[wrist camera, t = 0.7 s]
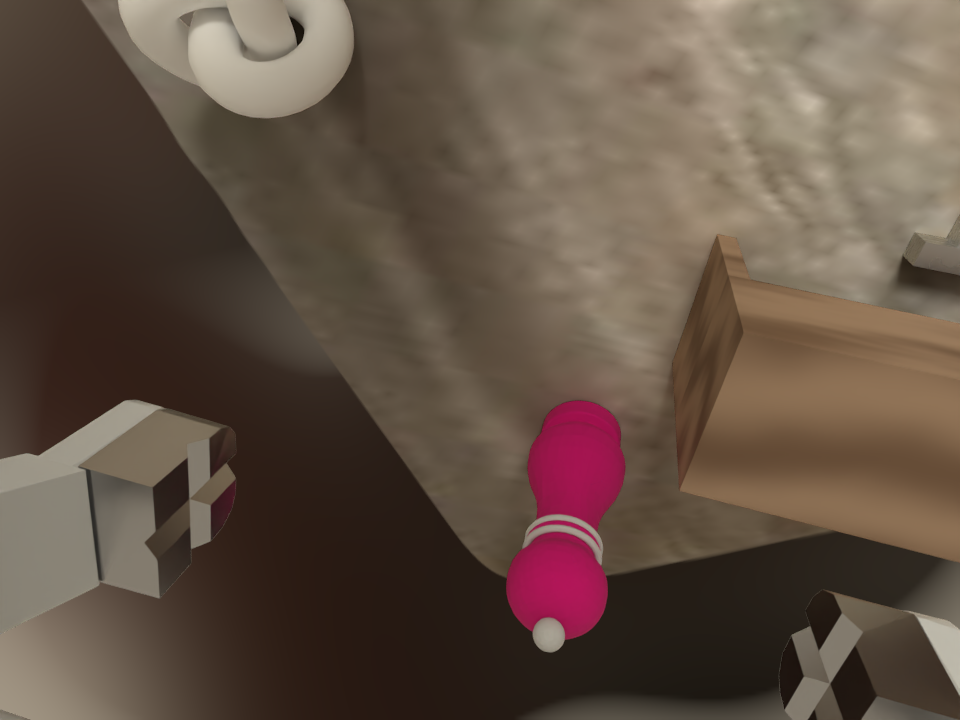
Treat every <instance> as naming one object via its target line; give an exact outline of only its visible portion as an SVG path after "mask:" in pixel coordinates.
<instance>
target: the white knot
mask: <svg viewBox="0 0 960 720" xmlns="http://www.w3.org/2000/svg"><path fill="white" fill-rule="evenodd" d="M118 4H119V11H120V16H121V18H122V20H123V22H124V25H125V27H126V29H127V31H128V33H129V35H130V37H131V39H132V41H133V42H134V43H135V44H136V45H137V47H138V48H139V49H140V50H141V52H143V53H144V54H145V55H146V56H147V57H148V58H150V59H151V60H152V61H153V62H154V63H156V64H158V65H159V66H161V67H162V68H164V69H165V70H167V71H169V72H170V73H172V74H174V75H175V76H177V77H179V78H182V79H184V80H186V81H188V82H190V83H192V84H195V85H198V86H200V87H201V88H202V89H203V91H205V92H206V93H207V94H208V95H209V96H210V97H211V98H212V99H214V100H215V101H216V102H217V103H218V104H220V105H221V106H223V107H224V108H226V109H228V110H230V111H232V112H235V113H237V114H240V115H244V116H249V117H254V118H276V117H284V116H288V115H291V114H295V113H298V112H301V111H303V110H305V109H307V108H309V107H311V106H313V105H315V104H317V103H318V102H319V101H320V100H322V99H323V98H324V97H325V96H327V95H328V94H329V93H330V92H331V91H332V89H333V88H334V87H335V86H336V85H337V84H338V82H339V81H340V80H341V78H342V77H343V76H344V74H345V72H346V70H347V68H348V66H349V64H350V62H351V58H352V54H353V50H354V31H353V25H352V20H351V16H350V12H349V10H348V8H347V6H346V4H345V2H344V0H118ZM194 10H195V11H194ZM191 11H194V14H193V17H192V20H191V24H190V27H188V26H187V25H186V24H185V23H184V22H183V21H182V20H181V19H180V18H179V17H180V16H182V15H184V14H186V13H189V12H191ZM289 16H290V17H292V18H293V19H295V20H296V21H298V22H299V23H300V24H301V25H302V26H303V28H304V37H303V40H302V42H301V43H300V44H299V45H298V46H297V42H296V36H295V32H294V29H293V26H292V24H291V21H290V18H289Z"/></svg>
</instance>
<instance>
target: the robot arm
mask: <svg viewBox="0 0 960 720" xmlns="http://www.w3.org/2000/svg"><path fill="white" fill-rule="evenodd" d="M235 454H236V436H235V433H234V432H233V430H231V428H230V427H228V426H224V425H221V424H218V423H214V422H211V421H208V420H205V419H201V418H198V417H195V416H191V415H188V414H184V413H181V412H178V411H174V410H171V409H165V408H163V407H160V406H156V405H153V404H149V403H146V402H142V401H139V400H128V401H124V402H122V403H120V404H119V405H117V406H116V407H114V408H113V409H111V410H110V411H108V412H106V413H105V414H104V415H102V416H100V417H99V418H97V419H96V420H94V421H92V422H91V423H89V424H88V425H86V426H85V427H83V428H81V429H80V430H78V431H77V432H75V433H74V434H72V435H70V436H69V437H68V438H66V439H65V440H63V441H61V442H60V443H58V444H56V445H55V446H53V447H52V448H50V449H49V450H47V451H45V452H44V453H42V454H41V455H39V456H36V455H32V454H28V453H27V454H22V455H18V456H13V457H9V458H5V459H0V634H2V633H4V632H5V631H8V630H10V629H12V628H14V627H16V626H18V625H20V624H22V623H24V622H26V621H28V620H30V619H32V618H34V617H36V616H38V615H40V614H42V613H44V612H46V611H48V610H50V609H52V608H54V607H57V606H59V605H61V604H63V603H64V602H66V601H69V600H71V599H73V598H75V597H77V596H79V595H81V594H83V593H85V592H87V591H88V590H91V589H93V588H95V587H97V586H99V582H102V583H105V584H109V585H113V586H117V587H120V588H124V589H127V590H131V591H134V592H138V593H142V594H145V595H149V596H153V597H156V598H161V596H162V595H163V594H164V593H165V592H166V591H167V590H168V588H169V587H170V586H171V585H172V584H173V583H174V582H175V581H176V580H177V579H178V577H179V576H180V575H181V574H182V573H183V572H184V571H185V570H186V569H187V567H188V566H189V565H190V564H191V549H192V548H195V547H197V546H200V545H202V544H205V543H207V542H210V541H211V540H212V539H213V538H214V537H215V536H216V534H217V533H218V532H219V531H220V530H221V528H222V527H223V525H224V523H225V521H226V519H227V517H228V515H229V513H230V511H231V509H232V506H233V501H234V497H235V493H236V478H235V476H234V475H233V473H232V471H231V470H230V468H229V467H228V465H227V462H228V461H229V460H230V459H231V457H233V456H234V455H235ZM805 612H806V615H807V618H808V621H809V624H810V627H808V628H806V629H804V630H801V631H800V632H797V633H795V634H793V635H791V637H790V639H789V641H788V644H787V645H786V647H785V649H784V651H783V654H782V659H781V666H780V671H779V684H780V694H781V698H782V702H783V707H784V710H785V712H786V713H787V714H788V715H789V716H790V718H791V719H792V720H960V630H959V629H958V628H957V627H956V626H954V625H953V624H952V623H950V622H949V621H947V620H943V619H938V618H935V617H931V616H927V615H923V614H919V613H915V612H911V611H906V610H905V611H901V610H898V609H894V608H890V607H886V606H883V605H879V604H875V603H871V602H868V601H864V600H860V599H856V598H853V597H849V596H845V595H841V594H838V593H834V592H830V591H826V590H823V589H822V590H821V591H820V592H819V593H818V594H816V595H815V596H814V597H813V598H812V600H811V602H810V603H809V605H808V607H807V608H806V610H805ZM0 720H30V719H27V718H24V717H21V716H18V715H15V714H12V713H9V712H6V711H3V710H0Z"/></svg>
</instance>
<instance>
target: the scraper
mask: <svg viewBox="0 0 960 720" xmlns="http://www.w3.org/2000/svg"><path fill="white" fill-rule="evenodd" d="M903 256H904V257H905V258H906V259H907V260H908V261H909V262H910V263H911V264H912V265H913V266H916V267H921V268H926V269H931V270H936V271H941V272H946V273H951V274H956V275H960V215H959V217H958V218H957V220H956V222H955V224H954V226H953V227H952V229H951V231H950V233H949V235H948V236H947V238H942V237H937V236H932V235H927V234H921V233H916V232H915V233H914V235H913V237H912V239H911V241H910V243H909V245H908V246H907V248H906V250H905V252H904V254H903Z"/></svg>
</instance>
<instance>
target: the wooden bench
mask: <svg viewBox="0 0 960 720" xmlns="http://www.w3.org/2000/svg"><path fill="white" fill-rule="evenodd" d="M672 366H673V385H674V403H675V421H676V439H677V457H678V475H679V491H682V492H686V493H690V494H693V495H697V496H701V497H705V498H709V499H713V500H717V501H721V502H725V503H729V504H733V505H736V506H740V507H744V508H748V509H752V510H756V511H760V512H764V513H768V514H772V515H776V516H779V517H783V518H787V519H791V520H795V521H799V522H803V523H807V524H811V525H815V526H818V527H822V528H826V529H830V530H834V531H838V532H842V533H846V534H850V535H854V536H858V537H862V538H865V539H870V540H873V541H877V542H881V543H885V544H889V545H893V546H897V547H901V548H904V549H909V550H913V551H916V552H920V553H924V554H928V555H932V556H936V557H940V558H944V559H947V560H952V561H955V562H959V563H960V324H959V323H954V322H950V321H945V320H940V319H935V318H930V317H926V316H921V315H916V314H911V313H907V312H902V311H897V310H892V309H888V308H883V307H878V306H873V305H869V304H864V303H859V302H854V301H849V300H845V299H840V298H835V297H830V296H826V295H821V294H816V293H811V292H807V291H802V290H797V289H792V288H788V287H783V286H778V285H773V284H769V283H764V282H759V281H754V280H750V277H749V274H748V271H747V268H746V265H745V263H744V260H743V257H742V254H741V251H740V248H739V245H738V242H737V239H736V238H733V237H728V236H723V235H718V234H717V237H716V239H715V242H714V245H713V248H712V251H711V254H710V257H709V260H708V262H707V265H706V268H705V271H704V274H703V277H702V280H701V283H700V285H699V288H698V291H697V294H696V297H695V300H694V303H693V306H692V308H691V311H690V314H689V317H688V320H687V323H686V326H685V329H684V331H683V334H682V337H681V340H680V343H679V346H678V349H677V352H676V354H675V357H674V360H673V363H672Z"/></svg>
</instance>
